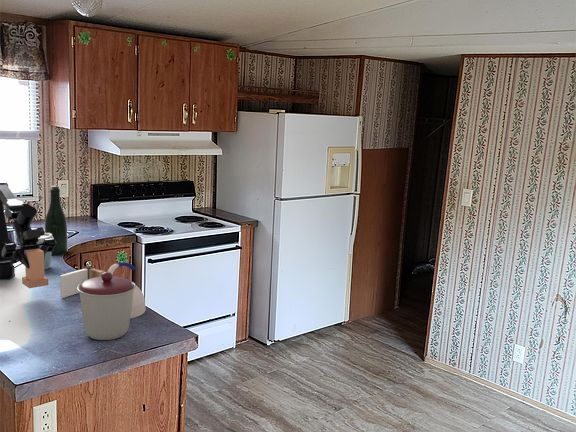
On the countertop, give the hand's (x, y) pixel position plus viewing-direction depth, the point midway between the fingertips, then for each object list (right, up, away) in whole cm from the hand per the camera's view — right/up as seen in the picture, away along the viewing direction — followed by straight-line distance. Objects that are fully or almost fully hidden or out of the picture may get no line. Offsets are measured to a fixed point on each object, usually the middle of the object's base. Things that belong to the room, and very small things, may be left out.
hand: (36, 266), depth 215 cm
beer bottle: (-20, +1, +68) cm, 70 cm away
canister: (+34, -20, -26) cm, 47 cm away
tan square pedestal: (-1, -7, +2) cm, 7 cm away
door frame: (+11, -10, +18) cm, 23 cm away
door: (+10, -11, +10) cm, 18 cm away
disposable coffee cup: (-16, -4, +42) cm, 45 cm away
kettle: (+31, -16, -4) cm, 35 cm away
